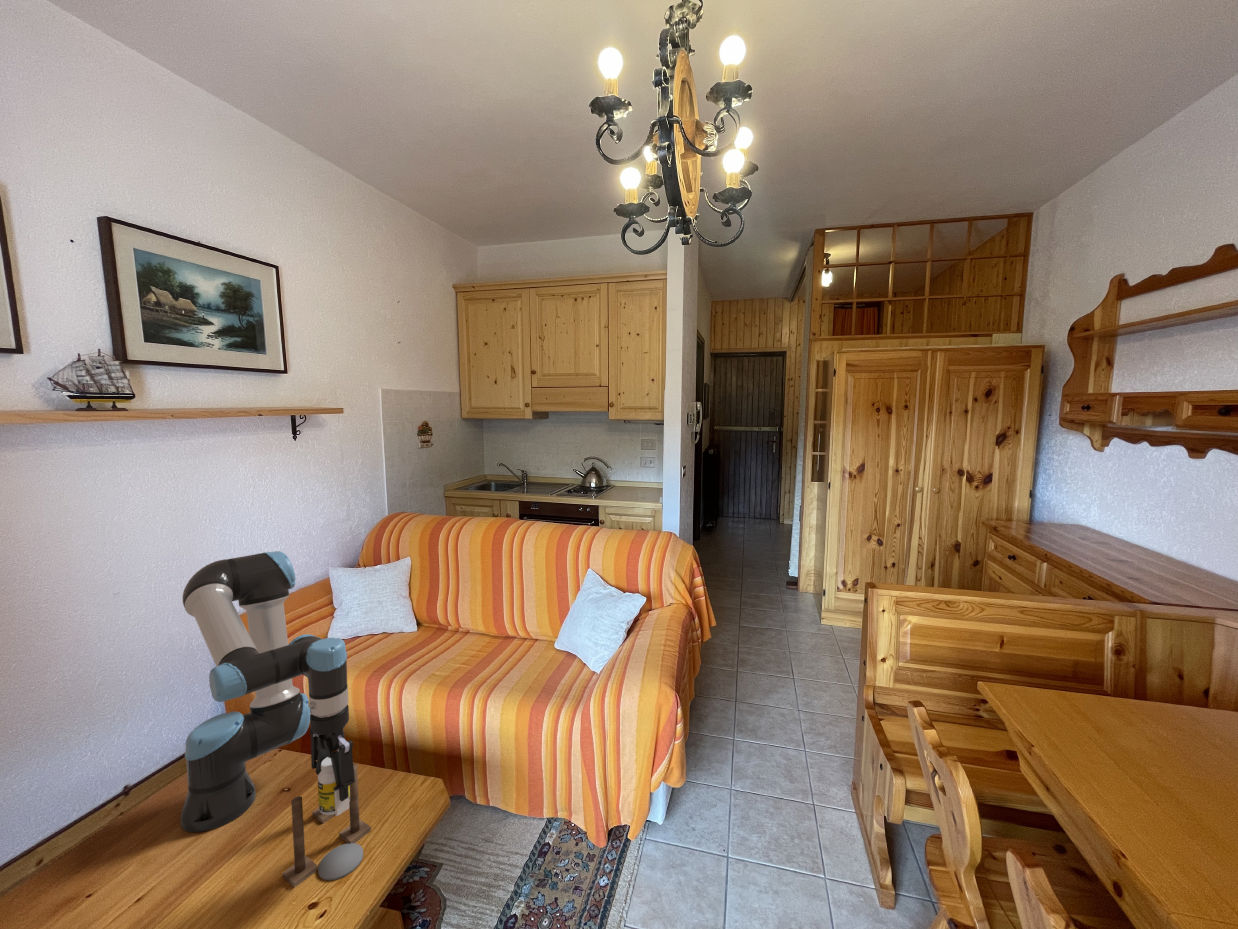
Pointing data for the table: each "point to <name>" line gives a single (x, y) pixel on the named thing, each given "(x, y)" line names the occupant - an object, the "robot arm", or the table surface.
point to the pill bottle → (327, 788)
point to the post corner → (354, 815)
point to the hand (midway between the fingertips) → (334, 805)
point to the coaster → (340, 861)
